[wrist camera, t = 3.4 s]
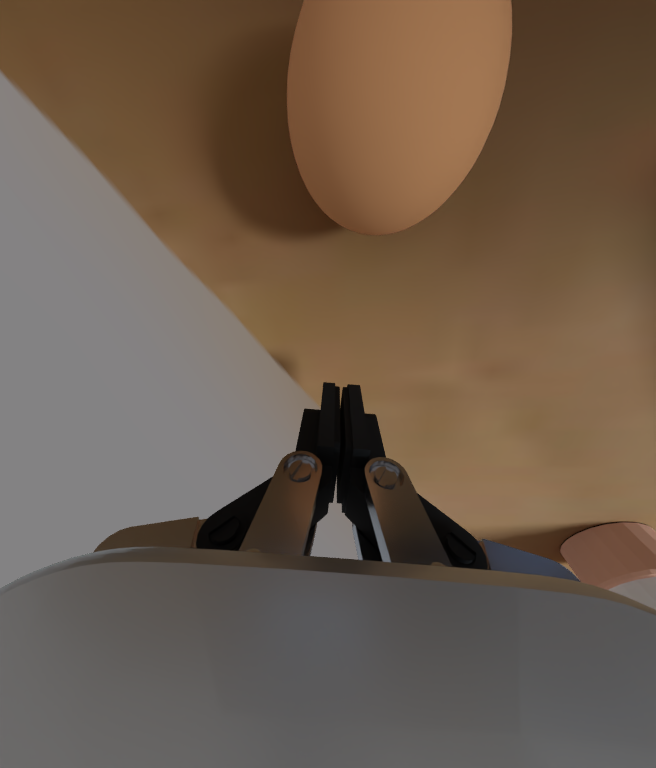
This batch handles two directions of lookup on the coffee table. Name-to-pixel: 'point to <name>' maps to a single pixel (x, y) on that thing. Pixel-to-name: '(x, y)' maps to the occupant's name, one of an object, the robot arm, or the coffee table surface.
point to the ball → (393, 103)
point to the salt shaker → (616, 559)
